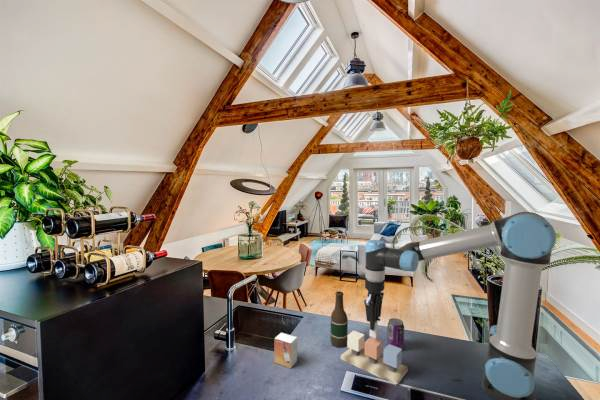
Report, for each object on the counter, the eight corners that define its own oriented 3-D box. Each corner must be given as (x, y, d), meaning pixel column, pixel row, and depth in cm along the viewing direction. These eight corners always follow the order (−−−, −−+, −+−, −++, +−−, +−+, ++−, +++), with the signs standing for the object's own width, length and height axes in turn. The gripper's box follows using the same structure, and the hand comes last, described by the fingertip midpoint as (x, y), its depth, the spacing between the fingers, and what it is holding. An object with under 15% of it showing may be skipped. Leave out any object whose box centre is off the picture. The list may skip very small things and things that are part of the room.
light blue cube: (401, 361, 110) (402, 348, 110) (396, 368, 106) (396, 355, 106) (388, 356, 113) (389, 343, 113) (383, 362, 109) (383, 349, 109)
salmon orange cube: (382, 353, 115) (382, 341, 115) (376, 359, 111) (376, 346, 111) (370, 348, 119) (370, 336, 118) (364, 354, 115) (364, 342, 114)
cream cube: (364, 346, 120) (364, 334, 120) (358, 351, 116) (358, 339, 116) (353, 342, 124) (353, 330, 123) (347, 347, 120) (347, 335, 120)
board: (407, 370, 112) (408, 357, 111) (396, 385, 103) (397, 371, 103) (353, 347, 127) (354, 335, 127) (340, 359, 119) (340, 346, 118)
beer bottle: (328, 346, 128) (329, 294, 127) (332, 337, 135) (332, 288, 134) (346, 349, 126) (346, 296, 124) (348, 340, 133) (349, 290, 132)
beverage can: (405, 352, 123) (405, 326, 123) (388, 350, 125) (388, 324, 124) (402, 344, 130) (403, 318, 130) (386, 342, 132) (387, 317, 131)
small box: (273, 363, 116) (273, 338, 115) (281, 355, 121) (281, 331, 120) (290, 369, 112) (290, 343, 112) (297, 361, 117) (297, 336, 117)
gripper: (373, 273, 121) (372, 327, 122) (358, 281, 111) (357, 339, 112) (390, 277, 116) (388, 333, 117) (376, 285, 106) (374, 346, 107)
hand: (373, 336), depth 115 cm, fingers closed
